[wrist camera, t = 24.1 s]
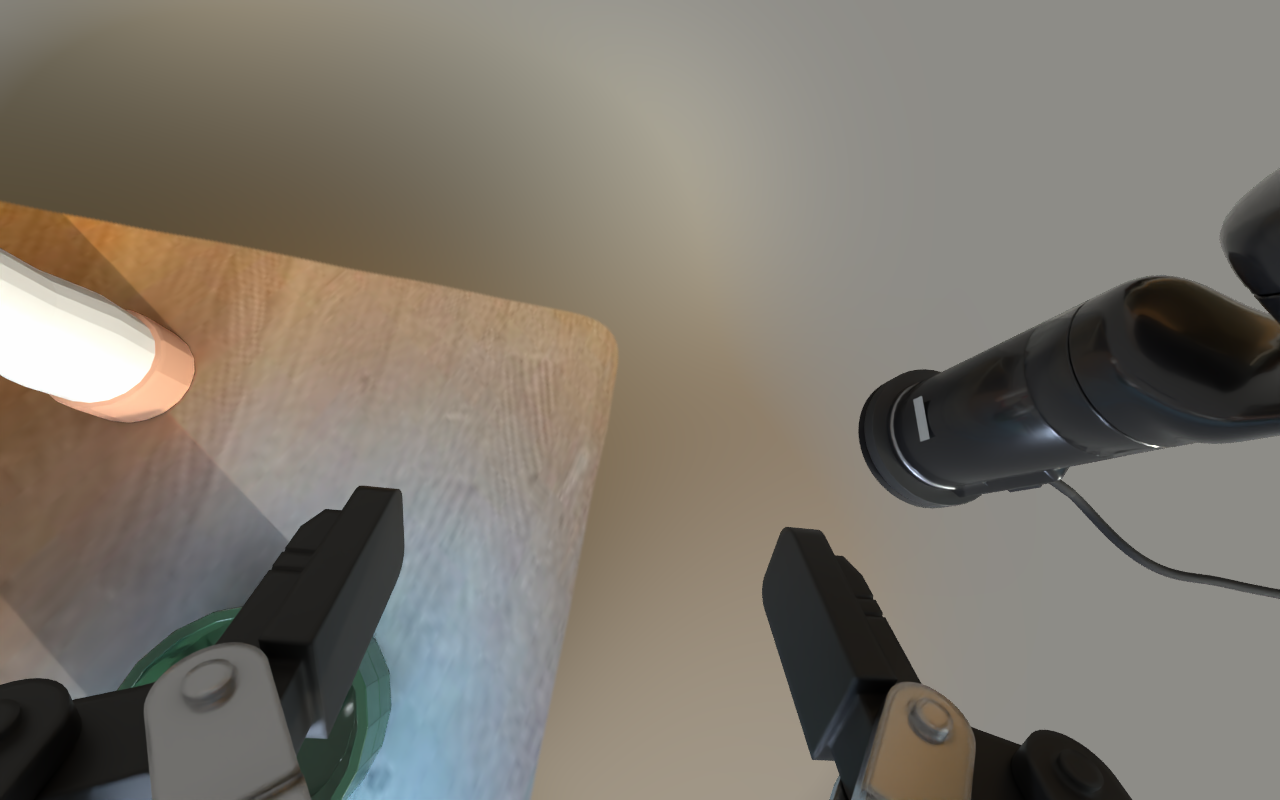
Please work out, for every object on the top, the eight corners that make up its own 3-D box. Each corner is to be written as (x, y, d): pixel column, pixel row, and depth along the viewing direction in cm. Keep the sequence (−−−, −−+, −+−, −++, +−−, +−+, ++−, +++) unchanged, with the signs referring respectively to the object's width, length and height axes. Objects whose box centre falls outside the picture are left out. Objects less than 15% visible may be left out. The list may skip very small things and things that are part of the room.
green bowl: (437, 702, 37) (418, 724, 32) (255, 893, 33) (198, 956, 27) (302, 556, 38) (263, 555, 33) (110, 723, 34) (30, 752, 29)
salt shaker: (218, 361, 41) (-47, 199, 23) (139, 442, 38) (-228, 332, 20) (137, 309, 41) (-190, 106, 23) (53, 386, 39) (-385, 228, 20)
